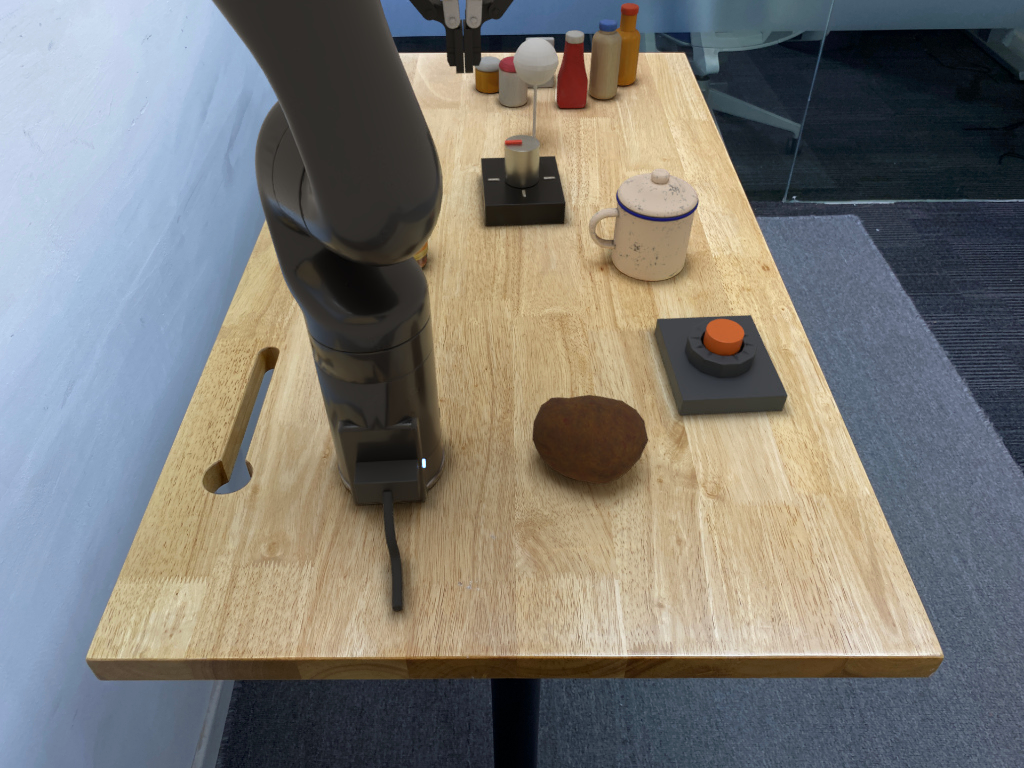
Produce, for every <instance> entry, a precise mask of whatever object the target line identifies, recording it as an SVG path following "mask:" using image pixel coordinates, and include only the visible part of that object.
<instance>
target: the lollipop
mask: <svg viewBox="0 0 1024 768" xmlns="http://www.w3.org/2000/svg"><path fill="white" fill-rule="evenodd" d="M530 38H531V39H529V40H526V39H525V41H524V42H522V43H521V44H520V45H519V47H518V48H517V49H516V51H515V53H514V55H513V56H514V60H513V62H514V66H515V70H516V72H517V74H518V76H519V77H520V78H521V79H522V80H523V81H524V82H526V83H528V84H531V85H534V88H533V99H532V100H533V101H532V102H533V103H532V136H533V137H535V138H537V137H536V136H537V106H538V105H537V101H538V88H537V85H541V84H544V83H546V82H547V81H549V80H550V79H551V78H552V77H553V75H554V76H555V74H556V72H557V69H558V67H559V55H558V54H557V51H556V49H555V46H554V47H553V46H552V45H551V44H550V43H549V42H548V41H546V40H544V39H541V38H535V37H530Z"/></svg>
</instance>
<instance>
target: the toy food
mask: <svg viewBox="0 0 1024 768" xmlns="http://www.w3.org/2000/svg"><path fill="white" fill-rule="evenodd" d="M639 11H640V6H639V5H638V4H637V3H633V2H625V3H622V4H621V5H620V13H621V14H620V20H619V27H618V21H617V20H615V19H611V18H604V19H601V20H599V23H598V29H599V30H597V31H596V32H594V34H593V36H592V39H591V40H592V41H591V52H590V53H591V54H590V68H589V78H588V74H587V70H586V69H587V68H586V65H585V52H584V51H585V45H584V42H585V33H584V32H583V31H581V30H576V29H575V30H573V29H572V30H568V31H567V32H566V33H565V42H564V47H563V48H564V49H563V54H562V59H561V63H560V67H559V70H558V72H557V77H556V104H557V106H558V108H560V109H582V108H585V107H586V105H587V98H588V92H589V94H590V96H591V97H593V98H594V99H598V100H609V99H612V98H613V97H615V96H616V94H617V91H618V86H629V85H632V84H633V83H635V81H636V79H637V72H638V64H639V56H640V55H639V54H640V46H641V33H640V30H638V29H637V22H638V21H637V20H638V14H639ZM531 38H532V37H526V38H525V41H526V40H529V39H531ZM534 38H541V39H544V40H546V41H548V42H549V43H550V44H551V45H552V46H553V47H554V48H555V38H554V37H553V36H551V37H550V36H548V37H547V36H546V37H545V36H544V37H543V36H541V37H539V36H537V37H534ZM513 60H514V55H513V56H512V55H510V56H505V57H503V58H501V59H500V58H498V57H495V56H492V55H491V56H481V62H480V65H479V66H474V78H475V79H474V81H475V89H476V90H477V91H478V92H480V93H484V94H494V93H498V101H499V103H500V104H501V105H503V106H505V107H508V108H509V107H510V108H517V107H522V106H524V105H526V104H527V102H528V92H529V91H528V89H534V85H531V84H528V83H526V82H524V81H523V80H522V79H521V78H520V77H519V76H518V74H517V72H516V70H515V66H514V62H513ZM554 85H555V74H554V75H553V77H552V78H551V79H550V80H549V81H547V82H546V83H544V84H541V85H537V89H538V88H554Z"/></svg>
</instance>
